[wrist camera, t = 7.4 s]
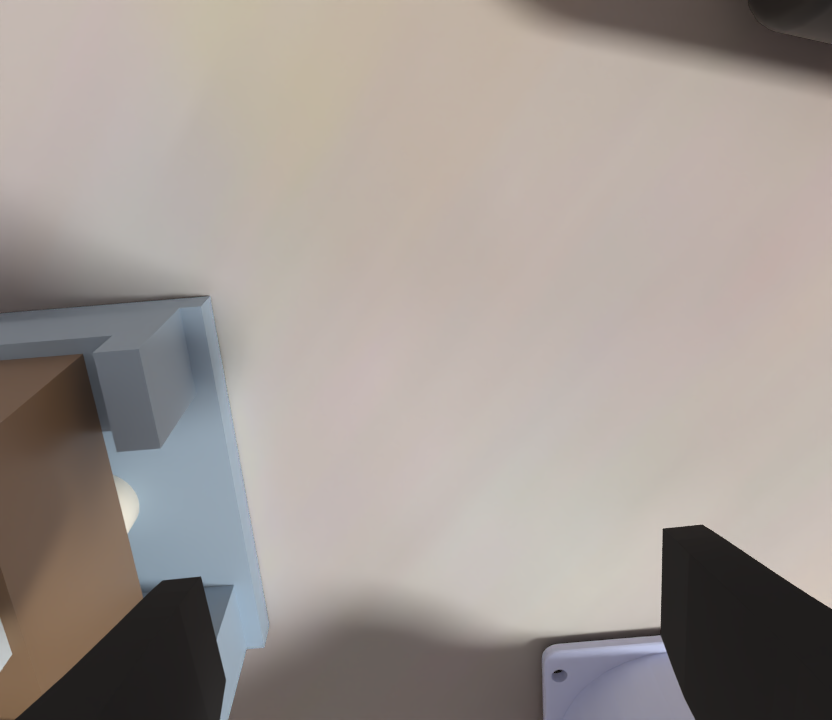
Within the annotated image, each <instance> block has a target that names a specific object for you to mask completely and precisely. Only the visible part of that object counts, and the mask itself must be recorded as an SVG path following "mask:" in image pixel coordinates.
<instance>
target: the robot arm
mask: <svg viewBox="0 0 832 720" xmlns="http://www.w3.org/2000/svg"><path fill="white" fill-rule="evenodd" d="M556 670H563V671H562V672H560V673H553V672H554V671H556ZM225 684H226V677H225V673H224V669H223V665H222V661H221V656H220V652H219V648H218V644H217V640H216V636H215V632H214V628H213V624H212V619H211V615H210V611H209V607H208V603H207V599H206V595H205V591H204V586H203V582H202V578H201V576H200V577H190V578H181V579H171V580H162V581H161V582H160V583H159V584H158V585H157V586H156V587H154V588H153V589H152V590H151V591H150V592H149V593H148V594H147V595H146V596H145V597H144V598H143V599H142V600H141V601H140V602H139V603H138V604H137V605H136V606H135V607H134V608H133V609H132V610H131V611H130V612H129V613H128V614H127V615H126V616H125V617H124V618H123V619H122V620H121V621H120V622H119V623H118V624H117V625H116V626H115V627H114V628H113V629H111V630H110V631H109V632H108V633H107V634H106V635H105V636H104V637H103V638H102V639H101V640H100V641H99V642H98V643H97V644H96V645H95V646H94V647H93V648H92V649H91V650H90V651H89V652H88V653H87V654H86V655H85V656H84V657H83V658H82V659H81V660H80V661H79V662H78V663H77V664H75V665H74V666H73V667H72V668H71V669H70V670H69V671H68V672H67V673H66V674H65V675H64V676H63V677H62V678H61V679H60V680H58V681H57V682H56V683H55V684H54V685H53V686H52V687H51V688H50V689H48V690H47V691H46V692H45V693H44V694H43V695H42V696H41V697H39V698H38V699H37V700H36V701H35V702H34V703H33V704H32V705H31V706H29V707H28V708H27V709H26V710H25V711H24V712H23V713H22V714H20V715H19V716H18V717H17V718H16V719H15V720H220V716H221V710H222V703H223V697H224V691H225ZM542 687H543V720H832V609H831V608H829V607H827V606H826V605H824V604H823V603H821V602H819V601H818V600H816V599H815V598H813V597H811V596H810V595H808V594H807V593H805V592H804V591H802V590H801V589H799V588H797V587H796V586H794V585H793V584H791V583H790V582H788V581H787V580H785V579H784V578H782V577H781V576H779V575H778V574H776V573H775V572H773V571H772V570H770V569H769V568H767V567H766V566H764V565H763V564H761V563H760V562H758V561H757V560H755V559H754V558H752V557H751V556H749V555H748V554H746V553H745V552H743V551H742V550H740V549H739V548H737V547H736V546H734V545H733V544H731V543H730V542H729V541H727V540H726V539H724V538H723V537H721V536H719V535H718V534H716V533H715V532H713V531H712V530H710V529H708V528H707V527H705V526H704V525H694V526H685V527H675V528H665V529H663V546H662V595H661V635H657V636H645V637H634V638H622V639H610V640H598V641H586V642H574V643H562V644H555V645H551V646H549V647H548V648H546V649H545V651H544V652H543V655H542Z"/></svg>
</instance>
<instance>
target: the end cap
mask: <svg viewBox="0 0 832 720" xmlns="http://www.w3.org/2000/svg"><path fill="white" fill-rule="evenodd" d="M748 4H749V7H750V10H751V11H752V13H753V14H754V16H755V18H756V19H757V21H758V22H759V23H760V24H762V25H763V26H765V27H767V28H768V29H770V30H772V31H774V32H779V33H783V34H788V35H793V36H797V37H802V38H806V39H811V40H816V41H820V42H825V43H829V44H832V0H748Z"/></svg>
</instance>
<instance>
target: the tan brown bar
mask: <svg viewBox="0 0 832 720" xmlns="http://www.w3.org/2000/svg"><path fill="white" fill-rule="evenodd" d="M142 599H143V595H142V591H141V587H140V583H139V579H138V575H137V571H136V567H135V563H134V558H133V554H132V550H131V546H130V542H129V538H128V534H127V530H126V526H125V522H124V518H123V514H122V510H121V506H120V502H119V498H118V494H117V490H116V486H115V482H114V478H113V473H112V469H111V465H110V461H109V457H108V453H107V449H106V445H105V441H104V437H103V433H102V429H101V425H100V421H99V417H98V413H97V409H96V405H95V401H94V397H93V393H92V388H91V384H90V380H89V376H88V372H87V368H86V364H85V360H84V356H83V354H74V355H61V356H49V357H36V358H23V359H11V360H0V720H15V719H16V718H17V717H18V716H19V715H20V714H22V713H23V712H24V711H25V710H26V709H27V708H28V707H29V706H31V705H32V704H33V703H34V702H35V701H36V700H37V699H38V698H39V697H41V696H42V695H43V694H44V693H45V692H46V691H47V690H48V689H50V688H51V687H52V686H53V685H54V684H55V683H56V682H57V681H58V680H60V679H61V678H62V677H63V676H64V675H65V674H66V673H67V672H68V671H69V670H70V669H71V668H72V667H73V666H74V665H75V664H77V663H78V662H79V661H80V660H81V659H82V658H83V657H84V656H85V655H86V654H87V653H88V652H89V651H90V650H91V649H92V648H93V647H94V646H95V645H96V644H97V643H98V642H99V641H100V640H101V639H102V638H103V637H104V636H105V635H106V634H107V633H108V632H109V631H110V630H111V629H113V628H114V627H115V626H116V625H117V624H118V623H119V622H120V621H121V620H122V619H123V618H124V617H125V616H126V615H127V614H128V613H129V612H130V611H131V610H132V609H133V608H134V607H135V606H136V605H137V604H138V603H139V602H140V601H141V600H142Z"/></svg>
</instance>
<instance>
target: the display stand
mask: <svg viewBox="0 0 832 720" xmlns="http://www.w3.org/2000/svg"><path fill="white" fill-rule="evenodd" d="M74 354H83V356H84V360H85V364H86V368H87V372H88V376H89V380H90V384H91V388H92V393H93V397H94V401H95V405H96V409H97V413H98V417H99V421H100V425H101V429H102V433H103V437H104V441H105V445H106V449H107V453H108V457H109V461H110V465H111V469H112V473H113V478H114V482H115V486H116V490H117V494H118V498H119V502H120V506H121V510H122V514H123V518H124V522H125V526H126V530H127V534H128V538H129V542H130V546H131V550H132V554H133V558H134V563H135V567H136V571H137V575H138V579H139V583H140V587H141V591H142V595H143V598H144V597H145V596H146V595H147V594H148V593H149V592H150V591H151V590H152V589H153V588H154V587H156V586H157V585H158V584H159V583H160V582H161V581H162V580H171V579H181V578H190V577H200V576H201V578H202V582H203V586H204V591H205V595H206V599H207V603H208V607H209V611H210V615H211V619H212V624H213V628H214V632H215V636H216V640H217V644H218V648H219V652H220V656H221V661H222V665H223V669H224V673H225V677H226V684H225V691H224V697H223V703H222V710H221V716H220V720H228V719H229V715H230V711H231V707H232V703H233V699H234V696H235V692H236V688H237V684H238V680H239V676H240V673H241V669H242V665H243V661H244V657H245V653H246V650H247V649H253V648H264V647H265V643H266V638H267V634H268V629H269V620H268V615H267V609H266V603H265V598H264V592H263V587H262V581H261V576H260V570H259V565H258V559H257V554H256V548H255V542H254V537H253V531H252V526H251V520H250V515H249V509H248V504H247V498H246V493H245V487H244V481H243V476H242V470H241V465H240V459H239V454H238V448H237V443H236V437H235V432H234V426H233V420H232V415H231V409H230V404H229V398H228V393H227V387H226V382H225V376H224V371H223V365H222V359H221V354H220V348H219V343H218V337H217V332H216V326H215V321H214V315H213V310H212V304H211V298H210V296H205V297H193V298H181V299H169V300H157V301H144V302H132V303H120V304H108V305H96V306H83V307H71V308H59V309H47V310H35V311H23V312H10V313H0V360H11V359H23V358H36V357H49V356H61V355H74Z"/></svg>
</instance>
